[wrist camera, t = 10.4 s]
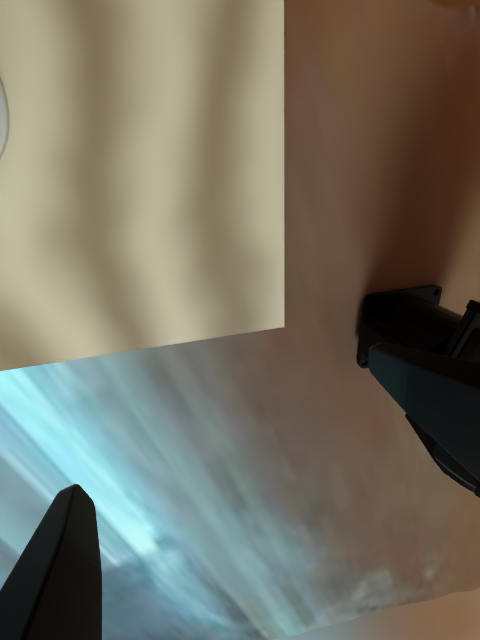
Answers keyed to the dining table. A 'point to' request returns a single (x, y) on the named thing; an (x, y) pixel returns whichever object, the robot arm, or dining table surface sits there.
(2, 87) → the white faceted container
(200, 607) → the dining table surface
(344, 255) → the dining table surface
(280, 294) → the birch board
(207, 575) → the dining table surface
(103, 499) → the dining table surface
